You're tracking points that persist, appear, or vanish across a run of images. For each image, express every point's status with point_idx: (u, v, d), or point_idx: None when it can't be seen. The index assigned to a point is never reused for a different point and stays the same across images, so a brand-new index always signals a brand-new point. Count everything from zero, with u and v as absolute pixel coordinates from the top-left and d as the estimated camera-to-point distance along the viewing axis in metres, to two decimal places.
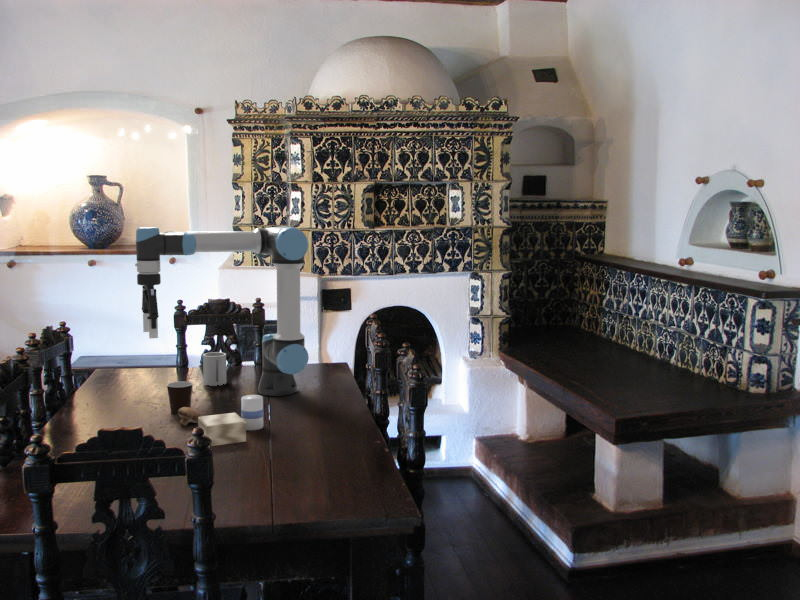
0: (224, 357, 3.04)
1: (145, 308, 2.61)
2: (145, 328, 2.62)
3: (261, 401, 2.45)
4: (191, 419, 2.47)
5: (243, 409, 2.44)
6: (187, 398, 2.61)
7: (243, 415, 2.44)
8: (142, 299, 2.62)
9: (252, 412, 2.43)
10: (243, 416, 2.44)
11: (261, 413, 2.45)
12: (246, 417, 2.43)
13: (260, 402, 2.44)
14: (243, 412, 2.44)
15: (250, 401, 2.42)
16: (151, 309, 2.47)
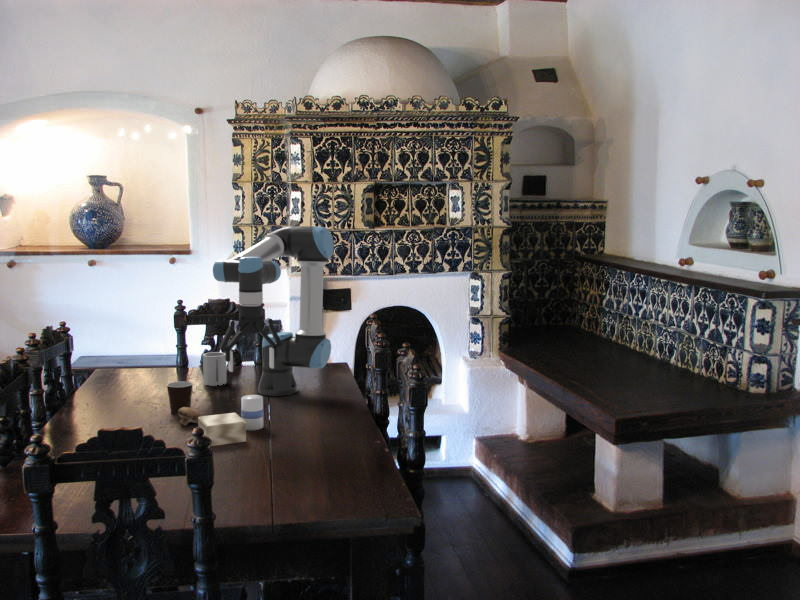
0: (224, 357, 3.04)
1: (268, 342, 2.47)
2: (269, 363, 2.48)
3: (261, 401, 2.45)
4: (191, 419, 2.47)
5: (243, 409, 2.44)
6: (187, 398, 2.61)
7: (243, 415, 2.44)
8: None
9: (252, 412, 2.43)
10: (243, 416, 2.44)
11: (261, 413, 2.45)
12: (246, 417, 2.43)
13: (260, 402, 2.44)
14: (243, 412, 2.44)
15: (250, 401, 2.42)
16: (222, 340, 2.40)
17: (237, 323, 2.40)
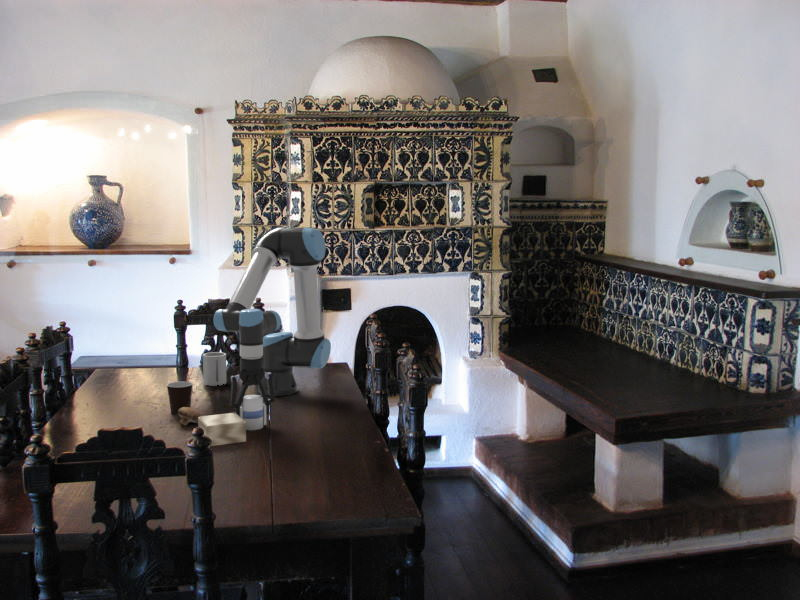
0: (224, 357, 3.04)
1: None
2: None
3: (261, 401, 2.45)
4: (191, 419, 2.47)
5: (243, 409, 2.44)
6: (187, 398, 2.61)
7: (243, 415, 2.44)
8: None
9: (252, 412, 2.43)
10: (243, 416, 2.44)
11: (261, 413, 2.45)
12: (246, 417, 2.43)
13: (260, 402, 2.44)
14: (243, 412, 2.44)
15: (250, 401, 2.42)
16: (230, 397, 2.43)
17: (238, 377, 2.43)
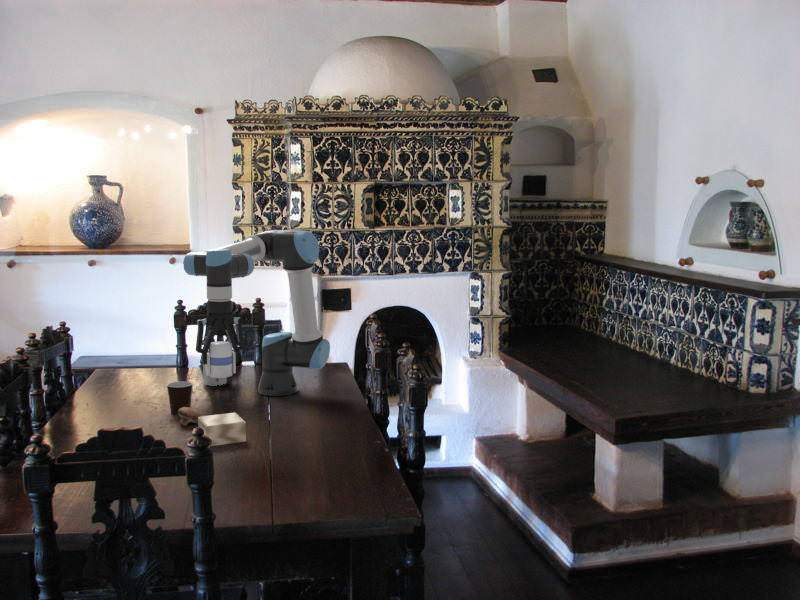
0: None
1: None
2: None
3: (230, 347, 2.30)
4: (191, 419, 2.47)
5: (210, 355, 2.29)
6: (187, 398, 2.61)
7: (210, 362, 2.29)
8: None
9: (220, 359, 2.28)
10: (210, 363, 2.29)
11: (229, 360, 2.30)
12: (213, 364, 2.28)
13: (229, 348, 2.29)
14: (210, 358, 2.29)
15: (218, 346, 2.27)
16: (196, 343, 2.28)
17: (205, 321, 2.28)
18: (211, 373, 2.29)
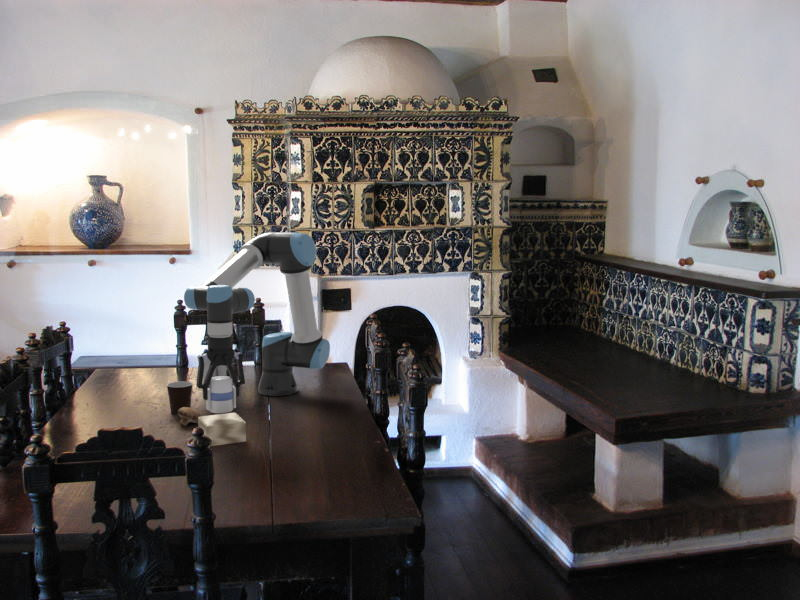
0: None
1: None
2: None
3: (230, 382, 2.31)
4: (191, 419, 2.47)
5: (211, 391, 2.30)
6: (187, 398, 2.61)
7: (211, 397, 2.30)
8: None
9: (221, 394, 2.29)
10: (211, 398, 2.30)
11: (230, 395, 2.31)
12: (214, 399, 2.30)
13: (229, 383, 2.31)
14: (211, 394, 2.30)
15: (218, 382, 2.29)
16: (197, 378, 2.30)
17: (206, 357, 2.29)
18: (212, 408, 2.31)
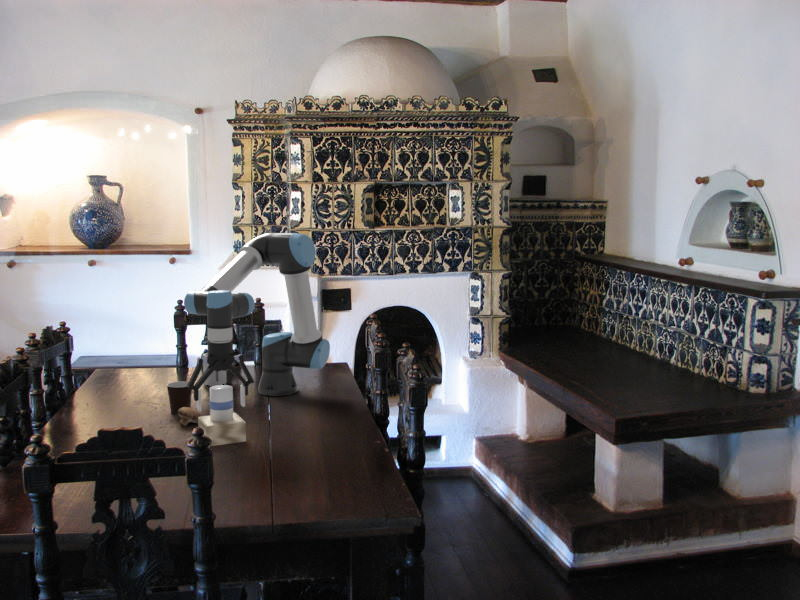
0: None
1: None
2: (241, 401, 2.37)
3: (230, 391, 2.32)
4: (191, 419, 2.47)
5: (211, 400, 2.30)
6: (187, 398, 2.61)
7: (211, 406, 2.31)
8: None
9: (221, 403, 2.30)
10: (211, 407, 2.31)
11: (230, 404, 2.32)
12: (214, 408, 2.30)
13: (229, 393, 2.31)
14: (211, 403, 2.30)
15: (218, 391, 2.29)
16: (190, 379, 2.29)
17: (206, 360, 2.29)
18: (212, 417, 2.31)
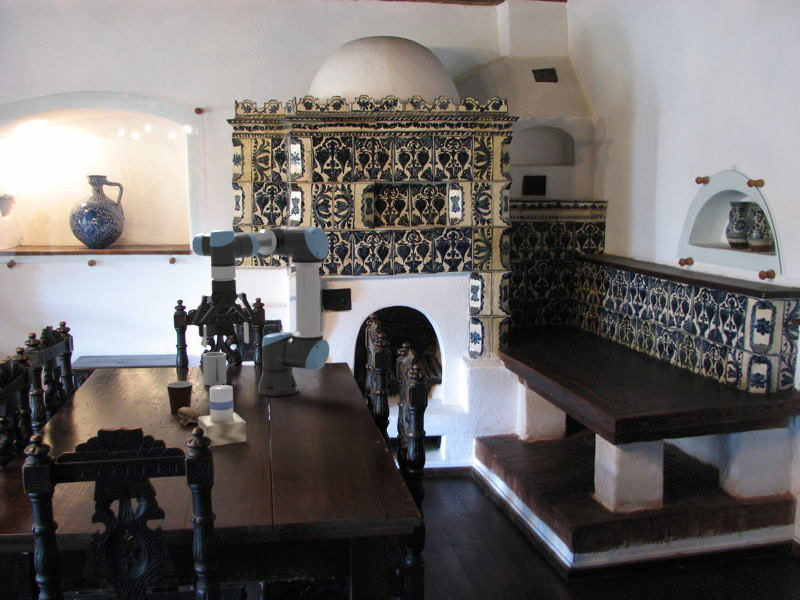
0: (224, 357, 3.04)
1: None
2: (244, 338, 2.45)
3: (230, 391, 2.32)
4: (191, 419, 2.47)
5: (211, 400, 2.30)
6: (187, 398, 2.61)
7: (211, 406, 2.31)
8: None
9: (221, 403, 2.30)
10: (211, 407, 2.31)
11: (230, 404, 2.32)
12: (214, 408, 2.30)
13: (229, 393, 2.31)
14: (211, 403, 2.30)
15: (218, 391, 2.29)
16: (195, 316, 2.36)
17: (210, 298, 2.37)
18: (212, 417, 2.31)
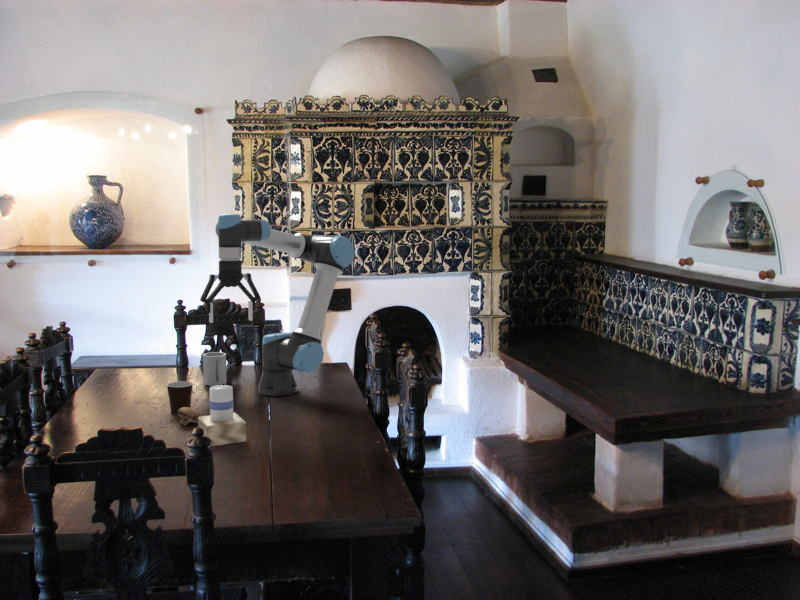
0: (224, 357, 3.04)
1: (247, 296, 2.60)
2: (248, 316, 2.61)
3: (230, 391, 2.32)
4: (191, 419, 2.47)
5: (211, 400, 2.30)
6: (187, 398, 2.61)
7: (211, 406, 2.31)
8: None
9: (221, 403, 2.30)
10: (211, 407, 2.31)
11: (230, 404, 2.32)
12: (214, 408, 2.30)
13: (229, 393, 2.31)
14: (211, 403, 2.30)
15: (218, 391, 2.29)
16: None
17: (217, 277, 2.54)
18: (212, 417, 2.31)
